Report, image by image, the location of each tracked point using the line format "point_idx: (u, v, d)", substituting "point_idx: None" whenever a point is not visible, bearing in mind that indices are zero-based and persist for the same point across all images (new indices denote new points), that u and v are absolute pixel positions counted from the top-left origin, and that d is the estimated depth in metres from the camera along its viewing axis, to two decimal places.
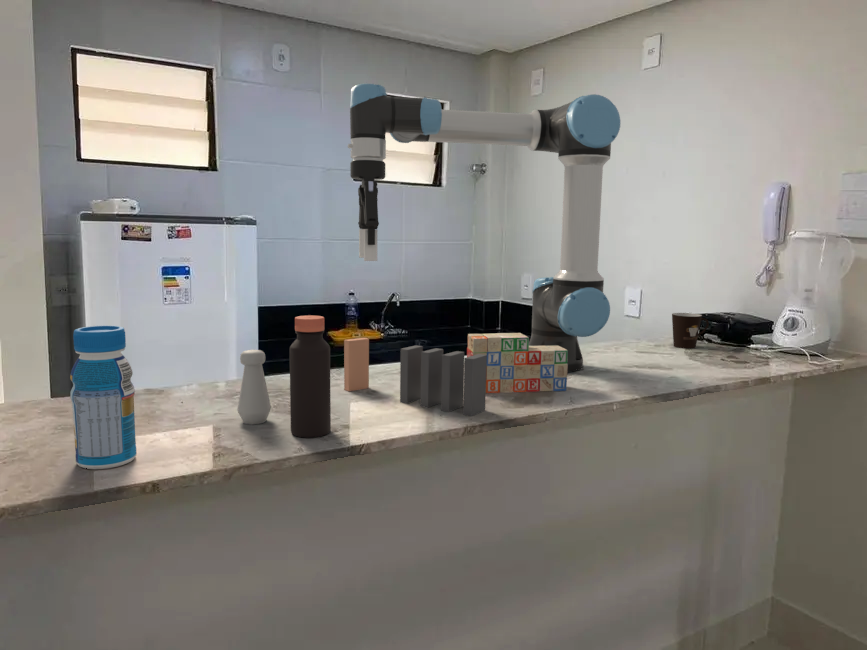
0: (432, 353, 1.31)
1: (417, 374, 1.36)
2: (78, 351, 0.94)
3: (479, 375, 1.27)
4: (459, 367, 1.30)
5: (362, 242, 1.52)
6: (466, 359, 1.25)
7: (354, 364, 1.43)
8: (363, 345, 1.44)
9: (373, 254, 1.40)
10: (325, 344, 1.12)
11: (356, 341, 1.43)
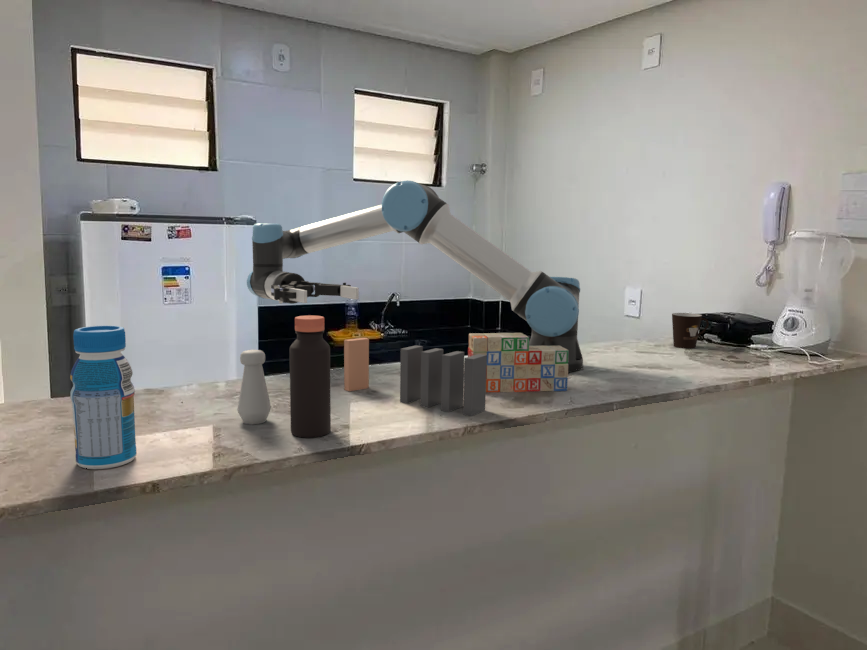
0: (432, 353, 1.31)
1: (417, 374, 1.36)
2: (78, 351, 0.94)
3: (479, 375, 1.27)
4: (459, 367, 1.30)
5: (347, 295, 1.57)
6: (466, 359, 1.25)
7: (354, 364, 1.43)
8: (363, 345, 1.44)
9: (300, 293, 1.46)
10: (325, 344, 1.12)
11: (356, 341, 1.43)
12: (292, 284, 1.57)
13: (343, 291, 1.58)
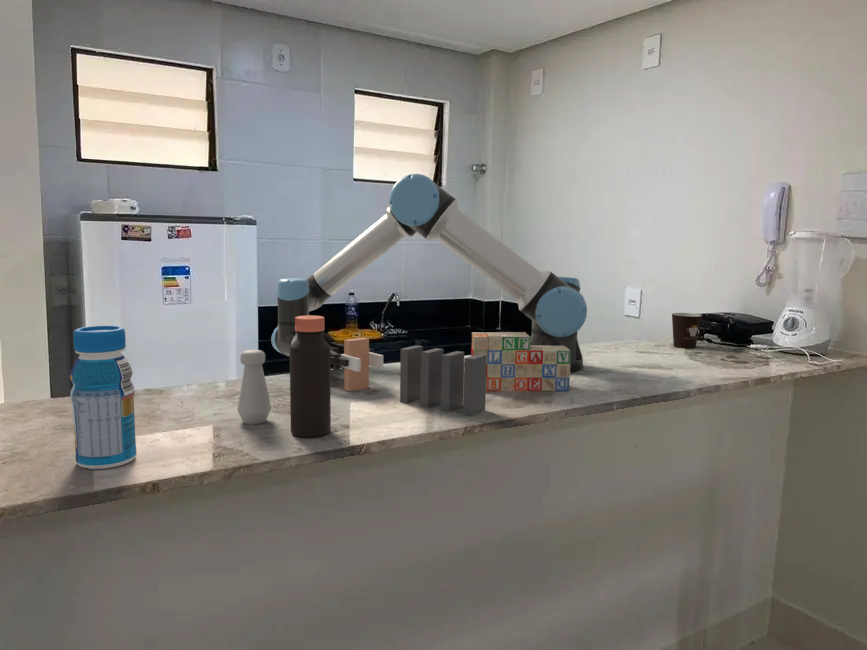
0: (432, 353, 1.31)
1: (417, 374, 1.36)
2: (78, 351, 0.94)
3: (479, 375, 1.27)
4: (459, 367, 1.30)
5: (371, 362, 1.45)
6: (466, 359, 1.25)
7: None
8: (363, 345, 1.44)
9: (354, 361, 1.40)
10: (325, 344, 1.12)
11: (356, 341, 1.43)
12: None
13: None
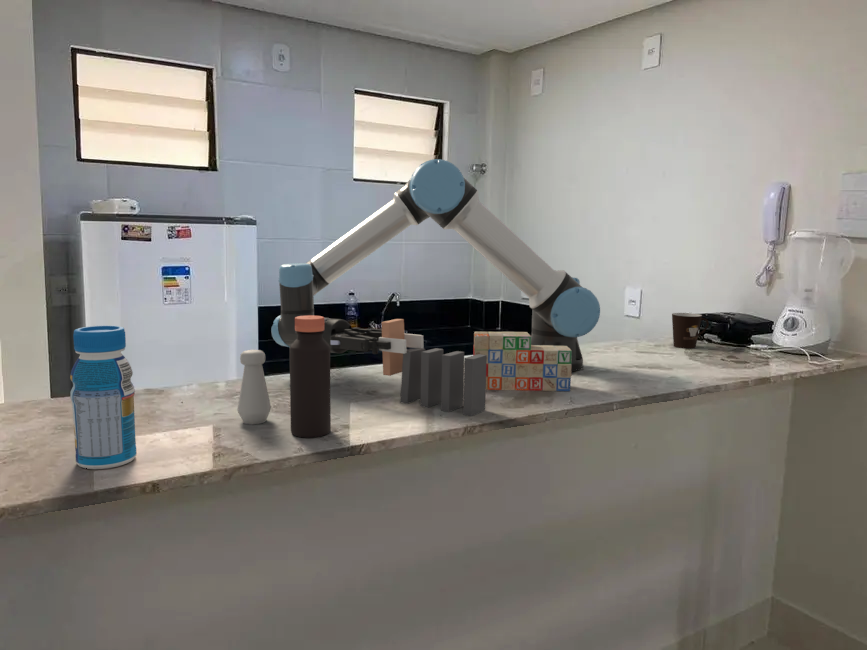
0: (432, 353, 1.31)
1: (418, 376, 1.37)
2: (78, 351, 0.94)
3: (479, 375, 1.27)
4: (459, 367, 1.30)
5: (407, 343, 1.39)
6: (466, 359, 1.25)
7: None
8: (399, 326, 1.38)
9: (398, 343, 1.33)
10: (325, 344, 1.12)
11: (394, 322, 1.37)
12: (357, 332, 1.41)
13: None
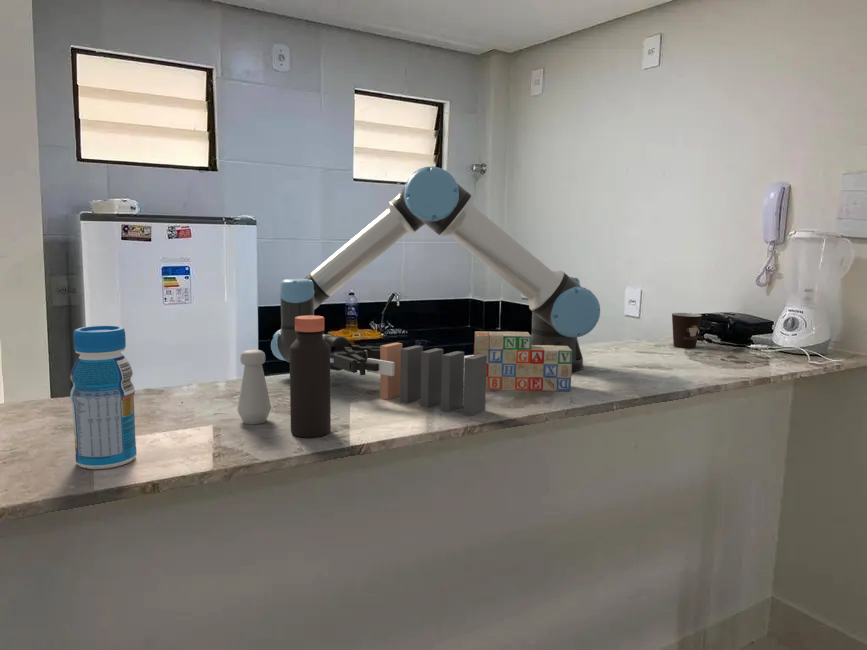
0: (432, 353, 1.31)
1: (417, 374, 1.36)
2: (78, 351, 0.94)
3: (479, 375, 1.27)
4: (459, 367, 1.30)
5: None
6: (466, 359, 1.25)
7: None
8: (398, 350, 1.39)
9: (386, 365, 1.32)
10: (325, 344, 1.12)
11: (392, 346, 1.37)
12: (353, 351, 1.41)
13: None
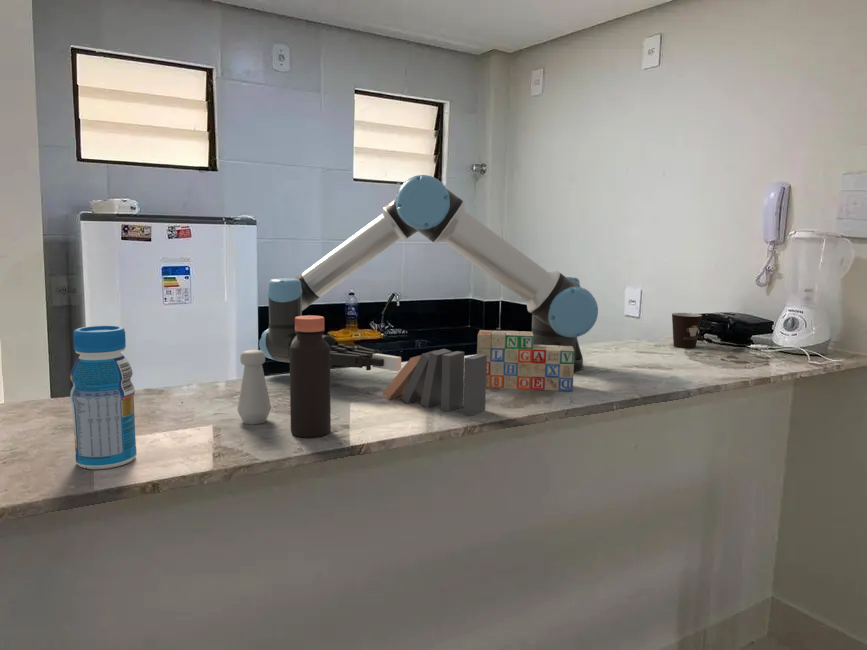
0: (440, 355, 1.30)
1: None
2: (78, 351, 0.94)
3: (479, 375, 1.27)
4: (459, 367, 1.30)
5: None
6: (466, 359, 1.25)
7: (406, 380, 1.36)
8: None
9: (391, 361, 1.37)
10: (325, 344, 1.12)
11: None
12: (346, 349, 1.44)
13: None
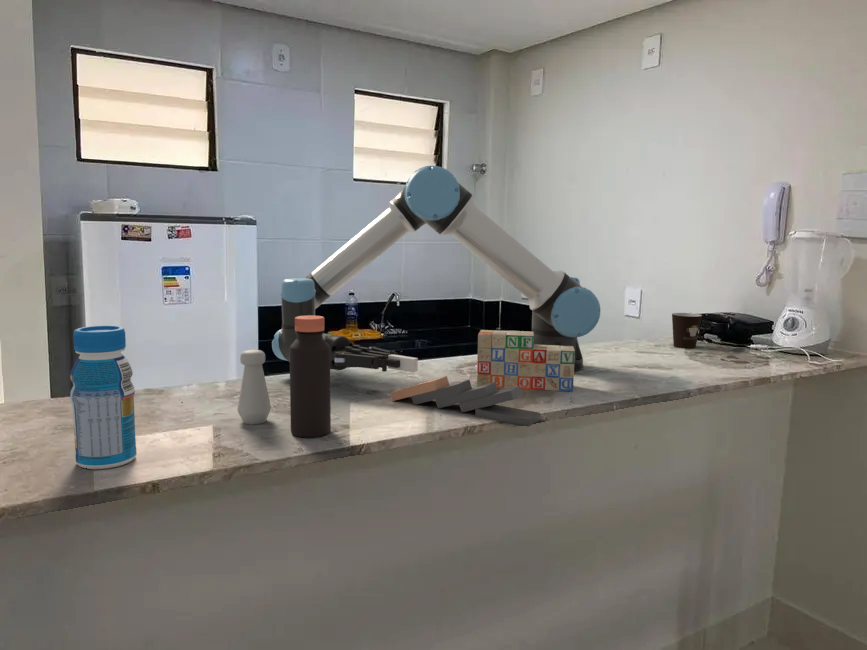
0: (488, 395, 1.27)
1: None
2: (78, 351, 0.94)
3: None
4: None
5: None
6: (527, 421, 1.20)
7: None
8: None
9: (408, 362, 1.35)
10: (325, 344, 1.12)
11: None
12: (361, 350, 1.42)
13: None
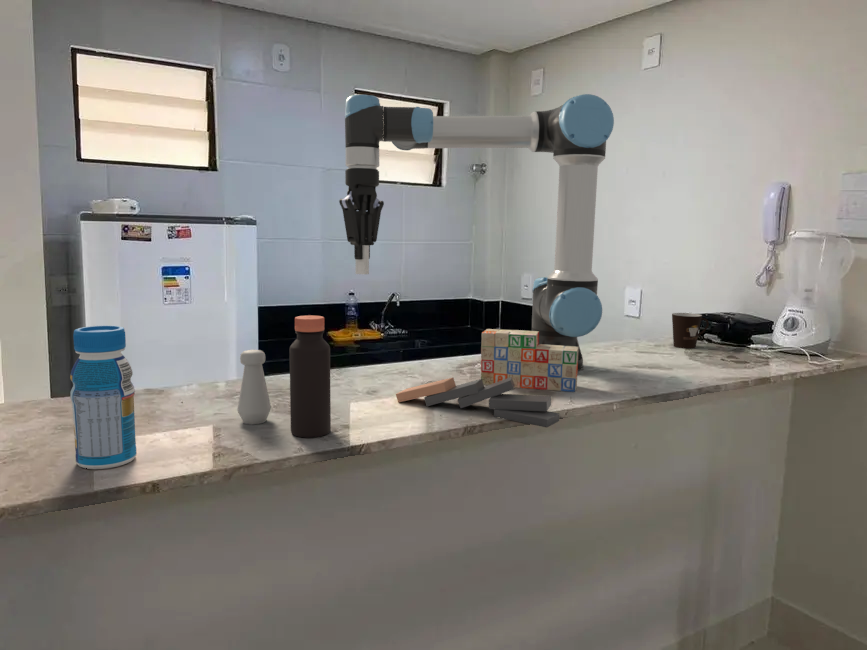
0: (512, 388, 1.29)
1: None
2: (78, 351, 0.94)
3: None
4: None
5: None
6: (546, 421, 1.20)
7: None
8: None
9: (361, 268, 1.51)
10: (325, 344, 1.12)
11: (448, 389, 1.32)
12: (364, 213, 1.48)
13: None
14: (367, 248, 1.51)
